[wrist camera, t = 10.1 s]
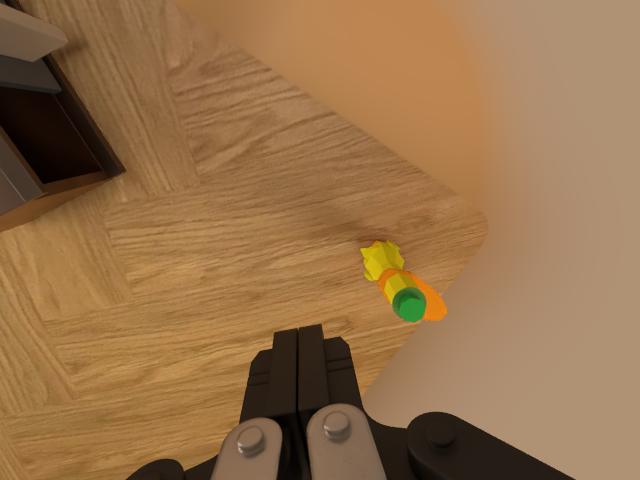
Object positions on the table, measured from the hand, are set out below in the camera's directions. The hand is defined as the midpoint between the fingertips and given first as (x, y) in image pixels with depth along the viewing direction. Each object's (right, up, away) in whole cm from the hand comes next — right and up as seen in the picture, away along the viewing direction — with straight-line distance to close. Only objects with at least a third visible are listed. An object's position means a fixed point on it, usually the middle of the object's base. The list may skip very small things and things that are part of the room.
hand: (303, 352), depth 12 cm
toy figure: (+6, +2, +22) cm, 23 cm away
